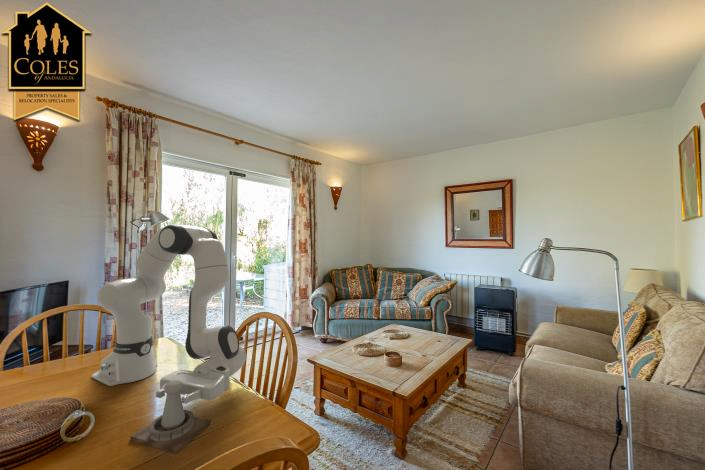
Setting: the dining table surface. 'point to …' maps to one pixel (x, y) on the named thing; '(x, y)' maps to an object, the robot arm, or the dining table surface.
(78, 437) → the bracelet
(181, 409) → the salt shaker
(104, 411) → the dining table surface
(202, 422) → the ring stand
